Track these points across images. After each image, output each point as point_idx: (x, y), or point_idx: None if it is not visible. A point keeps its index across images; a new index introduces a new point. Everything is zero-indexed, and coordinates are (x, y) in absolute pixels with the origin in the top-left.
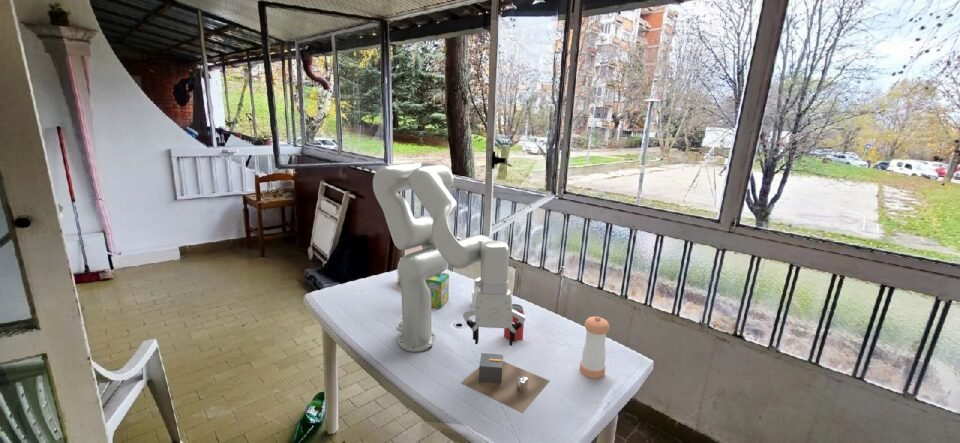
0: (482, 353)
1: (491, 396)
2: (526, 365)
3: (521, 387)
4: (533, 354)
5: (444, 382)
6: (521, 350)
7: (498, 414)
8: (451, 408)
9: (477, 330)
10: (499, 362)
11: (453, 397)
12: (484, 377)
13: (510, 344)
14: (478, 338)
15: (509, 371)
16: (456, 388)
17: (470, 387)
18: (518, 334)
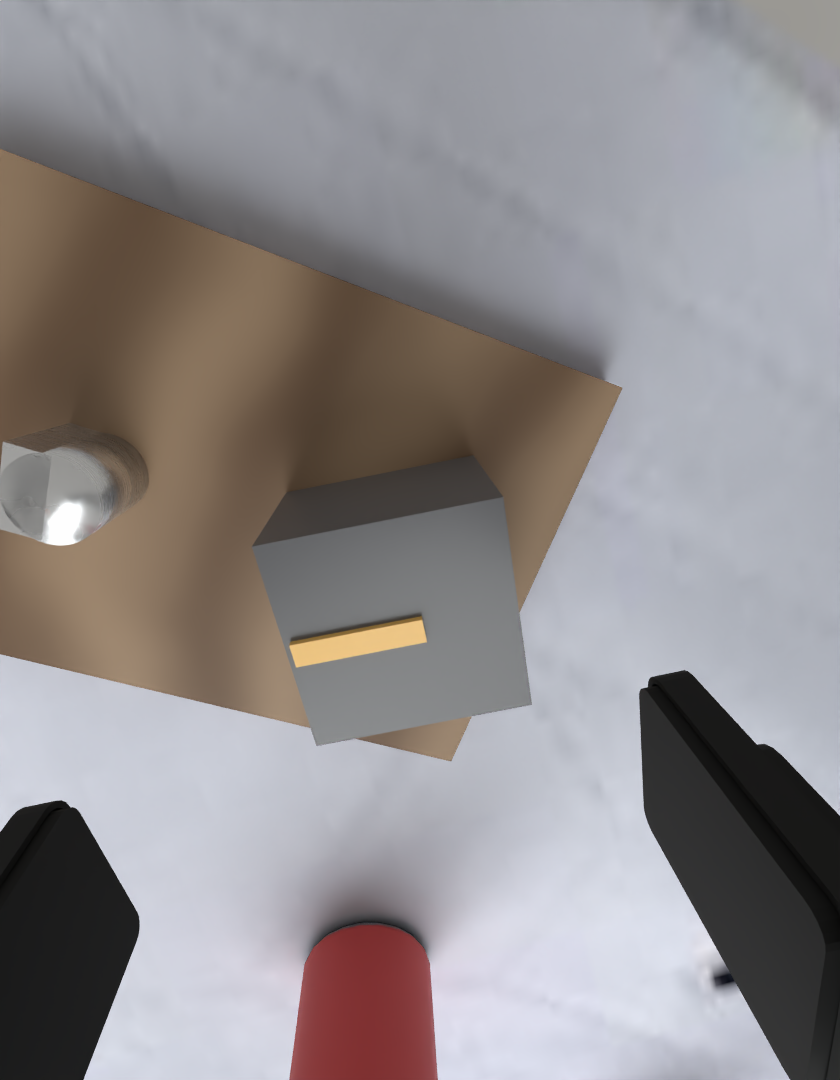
0: (518, 702)
1: (313, 285)
2: (201, 762)
3: (61, 437)
4: (195, 871)
5: (739, 405)
6: (284, 883)
7: (207, 129)
8: (626, 77)
9: (830, 988)
10: (309, 621)
11: (636, 239)
12: (431, 475)
13: (33, 822)
14: (653, 815)
15: (271, 646)
16: (633, 362)
17: (525, 352)
18: (316, 1009)
